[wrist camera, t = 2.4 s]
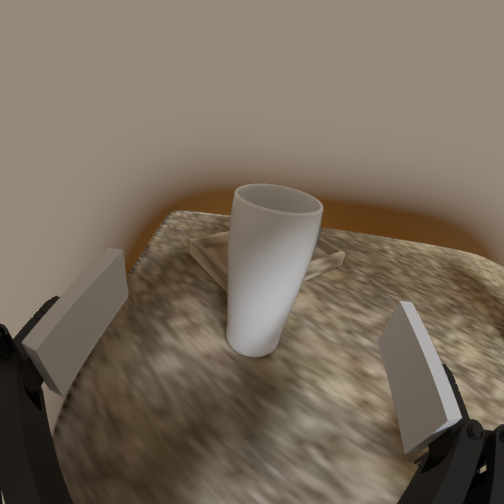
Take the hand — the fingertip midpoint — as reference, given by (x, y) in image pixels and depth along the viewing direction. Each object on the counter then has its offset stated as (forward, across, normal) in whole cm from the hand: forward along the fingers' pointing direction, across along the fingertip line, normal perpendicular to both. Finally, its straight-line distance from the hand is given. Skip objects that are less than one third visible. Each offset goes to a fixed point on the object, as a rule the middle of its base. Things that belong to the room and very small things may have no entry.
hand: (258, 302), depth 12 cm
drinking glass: (+10, +1, -13) cm, 17 cm away
